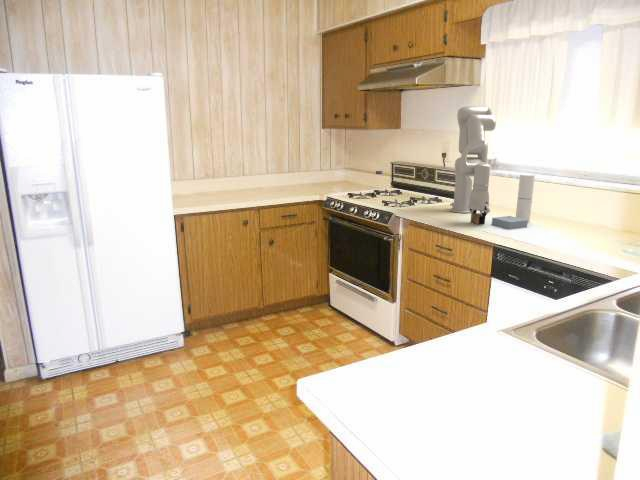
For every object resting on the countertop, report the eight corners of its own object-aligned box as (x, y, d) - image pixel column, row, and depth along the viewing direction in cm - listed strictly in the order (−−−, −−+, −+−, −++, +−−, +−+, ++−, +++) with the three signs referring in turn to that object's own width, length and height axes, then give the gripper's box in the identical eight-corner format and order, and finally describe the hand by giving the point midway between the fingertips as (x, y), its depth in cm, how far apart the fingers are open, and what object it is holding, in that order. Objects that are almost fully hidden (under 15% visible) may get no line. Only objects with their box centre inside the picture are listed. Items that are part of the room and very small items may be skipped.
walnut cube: (470, 223, 261) (471, 213, 260) (477, 222, 263) (478, 213, 262) (477, 225, 257) (478, 215, 255) (484, 224, 259) (485, 214, 258)
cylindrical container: (512, 220, 268) (517, 174, 262) (522, 219, 270) (527, 173, 264) (522, 223, 261) (527, 175, 255) (532, 222, 264) (537, 175, 258)
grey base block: (491, 225, 258) (492, 217, 257) (508, 223, 263) (509, 215, 262) (509, 230, 247) (510, 222, 246) (526, 227, 253) (527, 220, 252)
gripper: (463, 186, 261) (460, 220, 265) (487, 190, 246) (484, 226, 251) (474, 185, 264) (471, 219, 269) (498, 189, 249) (495, 225, 254)
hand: (477, 222), depth 260 cm, fingers closed on walnut cube, 5 cm apart
